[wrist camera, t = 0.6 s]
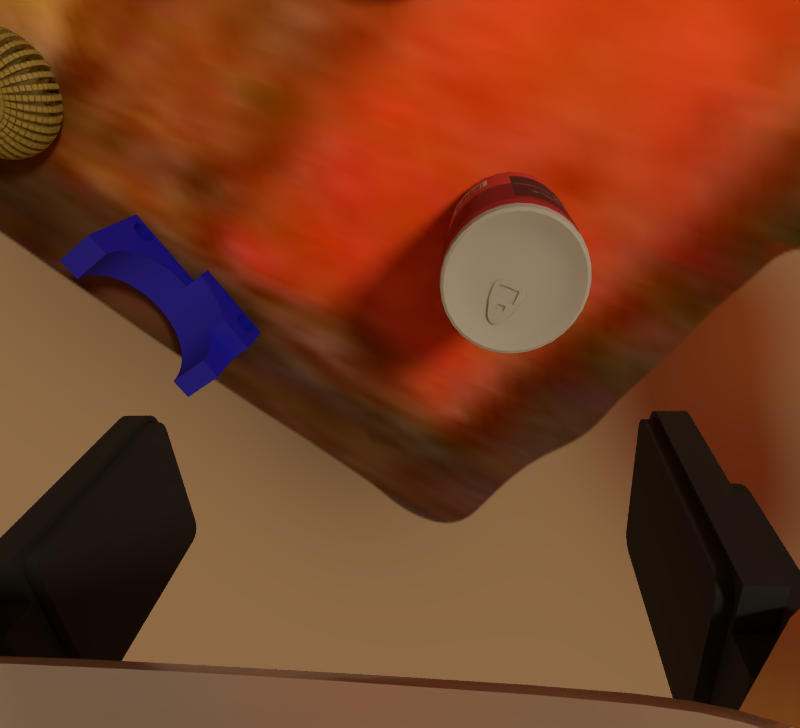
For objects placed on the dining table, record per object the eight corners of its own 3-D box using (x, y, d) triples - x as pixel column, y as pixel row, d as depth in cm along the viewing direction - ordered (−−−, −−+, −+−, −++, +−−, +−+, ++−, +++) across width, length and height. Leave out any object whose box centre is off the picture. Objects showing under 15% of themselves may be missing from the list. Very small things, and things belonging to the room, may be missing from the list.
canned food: (443, 281, 41) (432, 347, 32) (454, 164, 38) (446, 198, 28) (552, 292, 41) (575, 362, 31) (574, 174, 37) (609, 212, 27)
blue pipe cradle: (261, 331, 45) (232, 366, 40) (221, 359, 47) (188, 396, 42) (151, 201, 42) (103, 221, 36) (111, 237, 43) (59, 260, 38)
